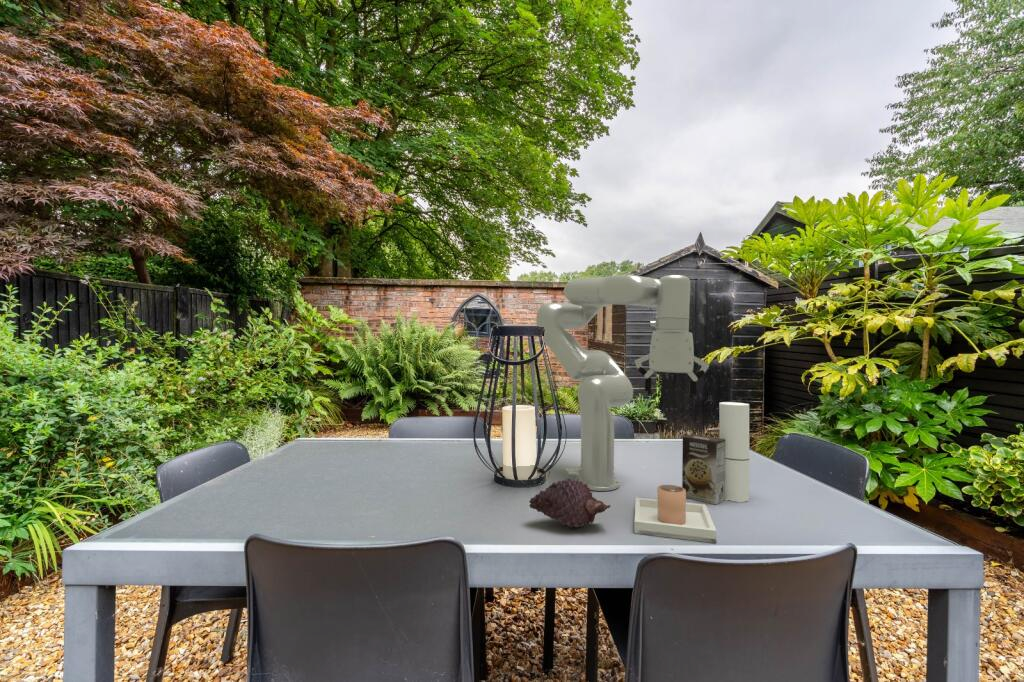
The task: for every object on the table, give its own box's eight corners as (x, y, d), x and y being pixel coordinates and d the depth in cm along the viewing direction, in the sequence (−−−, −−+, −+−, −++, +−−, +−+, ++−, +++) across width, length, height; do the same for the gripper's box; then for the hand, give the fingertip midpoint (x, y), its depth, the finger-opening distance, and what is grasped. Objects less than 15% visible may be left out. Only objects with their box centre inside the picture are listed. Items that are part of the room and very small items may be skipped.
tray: (634, 533, 94) (634, 521, 94) (635, 507, 109) (635, 497, 109) (716, 543, 89) (716, 530, 89) (705, 515, 105) (705, 504, 105)
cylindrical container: (742, 493, 121) (742, 402, 121) (754, 502, 114) (754, 405, 114) (715, 492, 121) (715, 401, 122) (725, 501, 114) (725, 405, 115)
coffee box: (681, 496, 118) (681, 436, 118) (691, 491, 123) (691, 433, 123) (716, 505, 111) (716, 441, 112) (725, 499, 116) (725, 438, 116)
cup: (658, 523, 97) (658, 491, 97) (656, 513, 103) (656, 483, 103) (687, 526, 96) (687, 493, 96) (684, 516, 102) (684, 485, 102)
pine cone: (527, 532, 94) (527, 485, 94) (531, 515, 104) (531, 472, 104) (612, 536, 92) (612, 488, 92) (607, 518, 102) (607, 475, 102)
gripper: (634, 324, 108) (632, 394, 108) (712, 326, 102) (709, 400, 102) (636, 325, 115) (634, 391, 115) (709, 327, 109) (706, 396, 109)
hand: (669, 395), depth 109 cm, fingers open, 9 cm apart
